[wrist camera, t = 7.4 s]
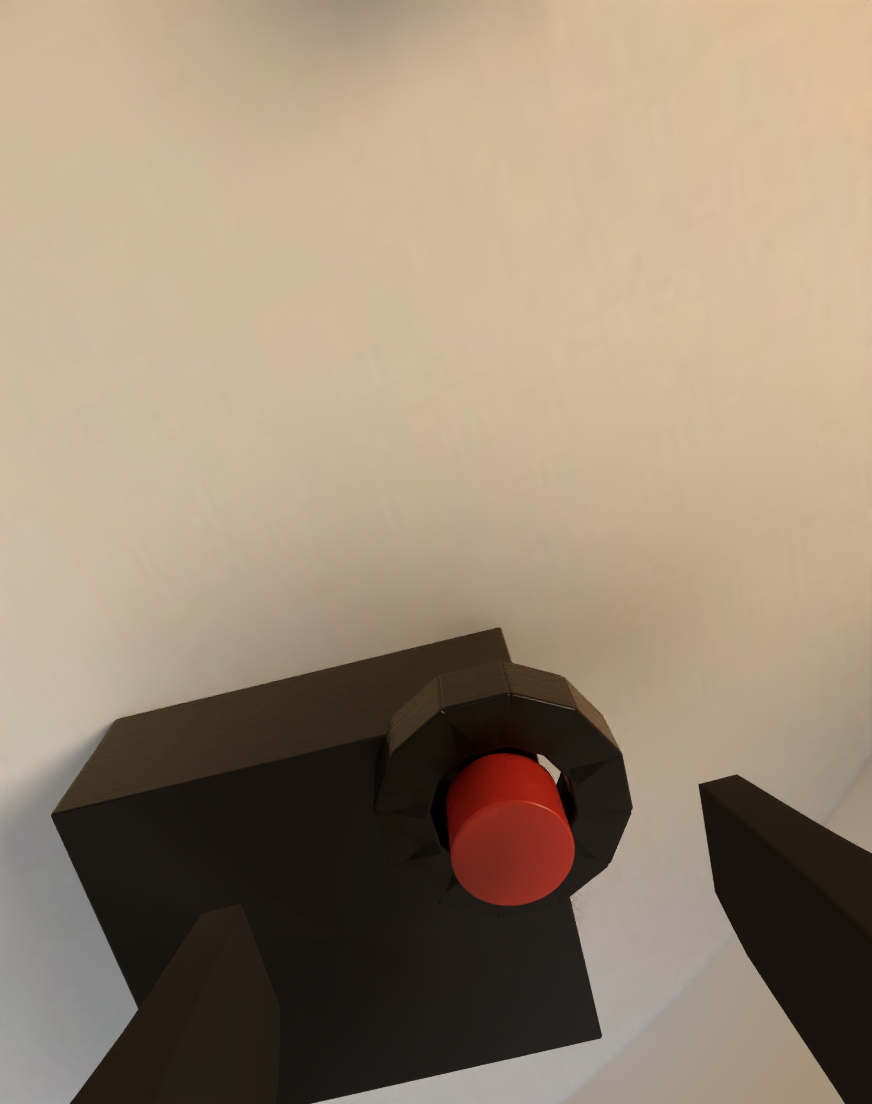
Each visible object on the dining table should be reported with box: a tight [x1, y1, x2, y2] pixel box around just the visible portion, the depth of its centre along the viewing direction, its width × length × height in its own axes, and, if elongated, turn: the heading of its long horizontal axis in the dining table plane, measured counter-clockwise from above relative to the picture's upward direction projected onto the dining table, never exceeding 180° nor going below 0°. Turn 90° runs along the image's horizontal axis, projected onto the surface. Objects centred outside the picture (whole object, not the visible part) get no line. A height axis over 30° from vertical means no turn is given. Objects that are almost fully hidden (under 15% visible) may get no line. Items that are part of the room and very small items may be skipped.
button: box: [446, 753, 575, 906], centre depth 16 cm, size 2×2×2 cm
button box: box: [51, 628, 633, 1104], centre depth 20 cm, size 13×11×6 cm
